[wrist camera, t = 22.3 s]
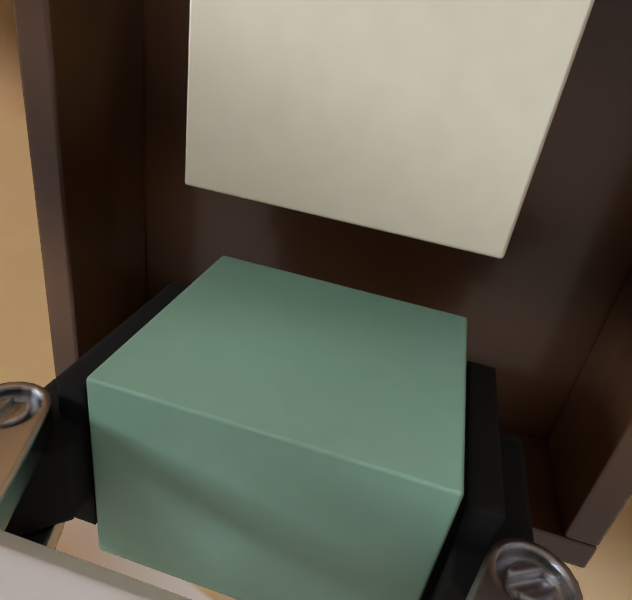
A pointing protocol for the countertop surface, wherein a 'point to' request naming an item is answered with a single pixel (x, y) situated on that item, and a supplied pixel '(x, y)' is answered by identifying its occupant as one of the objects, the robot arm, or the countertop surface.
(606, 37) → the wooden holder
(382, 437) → the green block
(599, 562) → the countertop surface
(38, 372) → the countertop surface
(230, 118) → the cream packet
